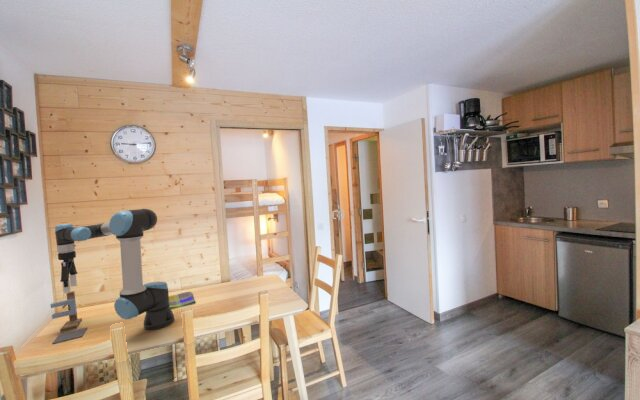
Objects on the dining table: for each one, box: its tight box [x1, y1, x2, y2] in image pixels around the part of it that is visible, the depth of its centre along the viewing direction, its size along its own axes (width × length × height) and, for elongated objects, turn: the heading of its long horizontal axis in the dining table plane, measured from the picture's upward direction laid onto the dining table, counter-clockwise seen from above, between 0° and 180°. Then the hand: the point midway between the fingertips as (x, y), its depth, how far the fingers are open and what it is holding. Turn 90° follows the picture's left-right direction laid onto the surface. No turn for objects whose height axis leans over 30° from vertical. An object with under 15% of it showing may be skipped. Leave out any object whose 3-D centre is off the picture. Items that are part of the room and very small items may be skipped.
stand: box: [59, 290, 83, 333], centre depth 169 cm, size 18×7×18 cm, turn 28°
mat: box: [52, 327, 88, 345], centre depth 158 cm, size 12×12×1 cm
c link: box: [50, 298, 78, 320], centre depth 164 cm, size 10×2×8 cm, turn 118°
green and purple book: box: [169, 291, 196, 311], centre depth 197 cm, size 18×24×3 cm
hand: (70, 289), depth 165 cm, fingers open, 13 cm apart
